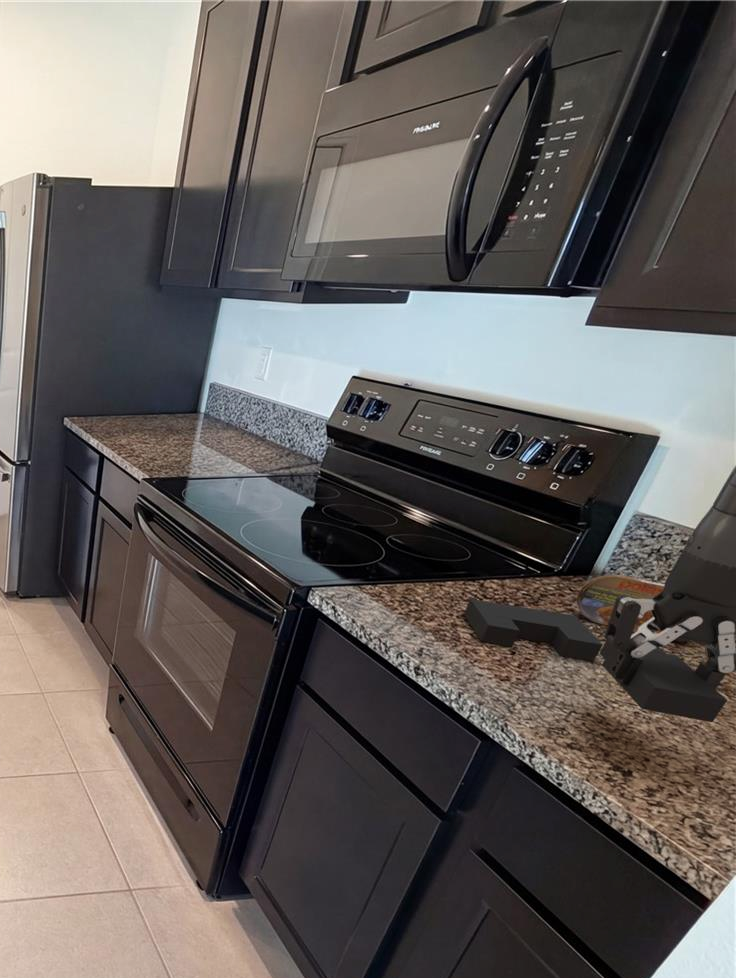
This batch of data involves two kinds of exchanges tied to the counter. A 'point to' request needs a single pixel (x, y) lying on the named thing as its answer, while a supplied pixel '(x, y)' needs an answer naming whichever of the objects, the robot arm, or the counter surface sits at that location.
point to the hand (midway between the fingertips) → (656, 687)
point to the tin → (614, 596)
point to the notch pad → (531, 628)
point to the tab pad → (669, 686)
